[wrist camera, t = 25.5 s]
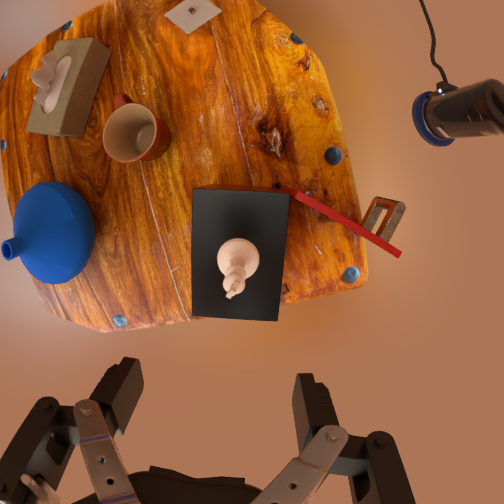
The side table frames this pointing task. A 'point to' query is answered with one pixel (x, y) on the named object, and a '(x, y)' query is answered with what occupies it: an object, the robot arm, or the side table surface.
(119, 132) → the mug
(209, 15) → the grey square plate
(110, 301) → the side table surface
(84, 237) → the vase
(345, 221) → the door
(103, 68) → the tissue box
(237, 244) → the chess piece
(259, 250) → the dark brown cabinet
